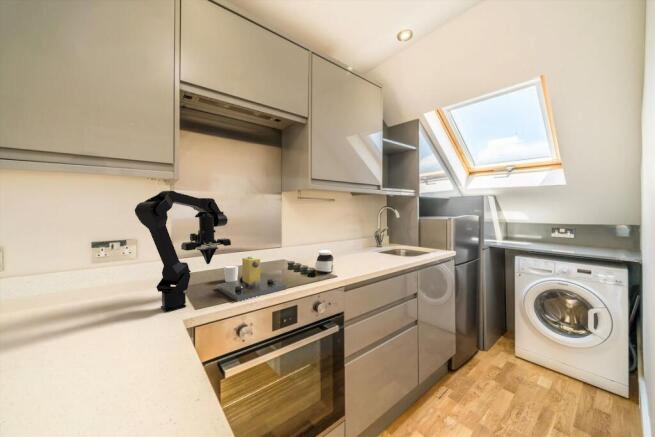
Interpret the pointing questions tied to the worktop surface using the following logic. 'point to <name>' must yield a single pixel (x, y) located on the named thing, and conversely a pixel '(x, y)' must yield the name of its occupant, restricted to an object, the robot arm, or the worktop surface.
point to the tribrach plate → (250, 288)
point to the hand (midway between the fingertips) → (207, 264)
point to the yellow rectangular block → (251, 269)
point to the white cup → (231, 273)
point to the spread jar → (324, 262)
